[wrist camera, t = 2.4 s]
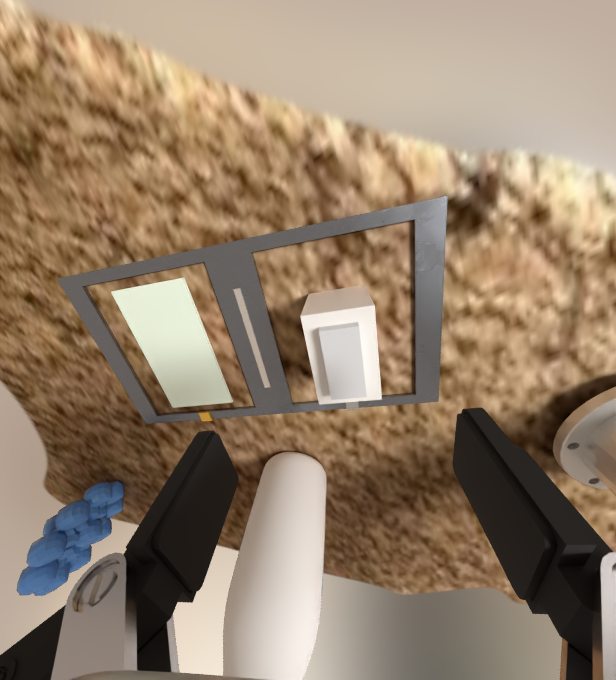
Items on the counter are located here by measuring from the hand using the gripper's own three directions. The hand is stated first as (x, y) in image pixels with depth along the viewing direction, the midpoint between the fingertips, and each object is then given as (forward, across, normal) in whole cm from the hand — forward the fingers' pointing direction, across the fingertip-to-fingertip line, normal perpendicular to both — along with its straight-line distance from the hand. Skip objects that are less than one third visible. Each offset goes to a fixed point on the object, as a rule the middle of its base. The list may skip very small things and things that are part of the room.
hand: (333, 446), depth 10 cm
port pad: (+13, +15, 0) cm, 20 cm away
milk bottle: (+13, +7, +18) cm, 23 cm away
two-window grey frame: (+13, +7, 0) cm, 15 cm away
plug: (+13, -1, 0) cm, 13 cm away
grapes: (+13, +34, +19) cm, 41 cm away
